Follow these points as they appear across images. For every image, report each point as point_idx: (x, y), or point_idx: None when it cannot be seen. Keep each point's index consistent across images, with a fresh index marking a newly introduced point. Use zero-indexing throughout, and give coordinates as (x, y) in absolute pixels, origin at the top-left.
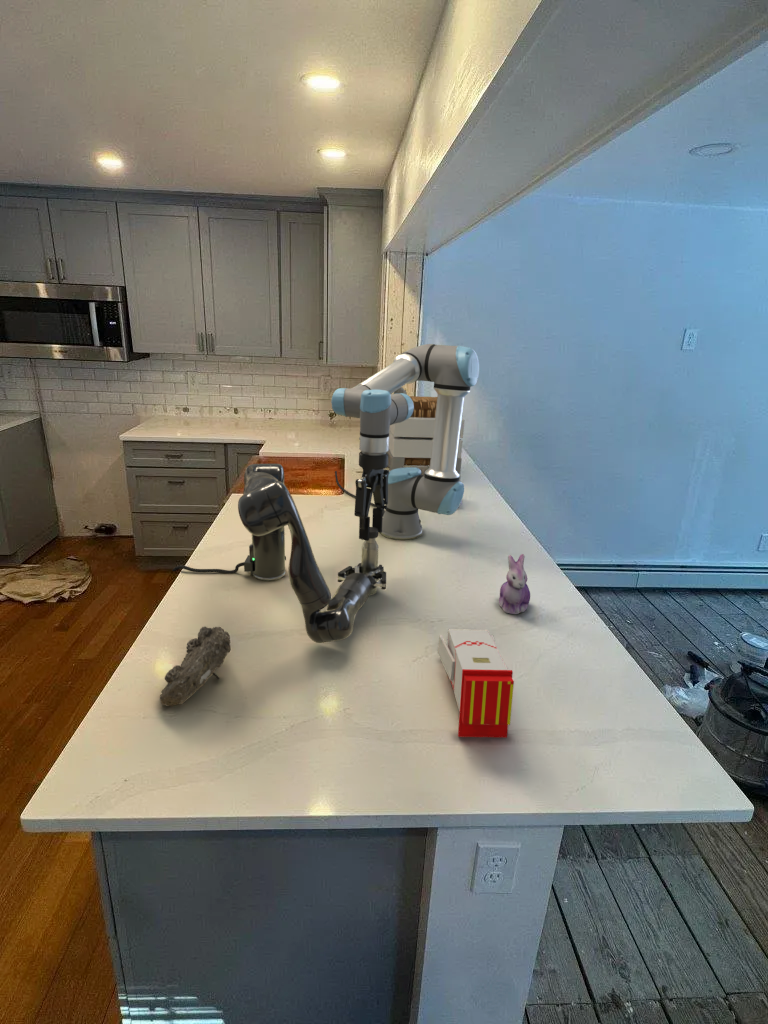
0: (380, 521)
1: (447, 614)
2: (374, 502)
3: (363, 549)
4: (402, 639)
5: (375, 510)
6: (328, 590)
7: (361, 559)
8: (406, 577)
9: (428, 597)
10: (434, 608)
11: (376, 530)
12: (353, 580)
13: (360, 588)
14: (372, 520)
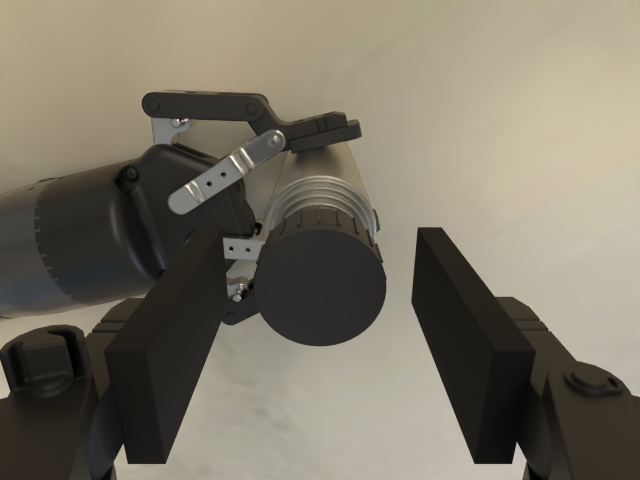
0: (436, 356)
1: (324, 428)
2: (558, 433)
3: (267, 208)
4: None
5: (481, 372)
6: None
7: (290, 166)
8: (507, 230)
9: (394, 352)
10: (336, 390)
11: (326, 337)
12: (39, 273)
13: (41, 311)
14: (443, 267)
